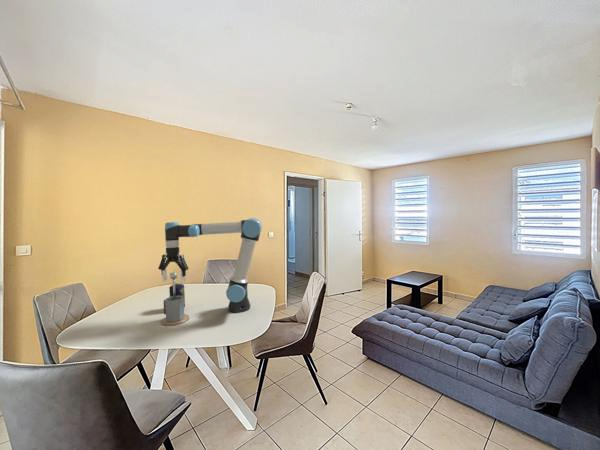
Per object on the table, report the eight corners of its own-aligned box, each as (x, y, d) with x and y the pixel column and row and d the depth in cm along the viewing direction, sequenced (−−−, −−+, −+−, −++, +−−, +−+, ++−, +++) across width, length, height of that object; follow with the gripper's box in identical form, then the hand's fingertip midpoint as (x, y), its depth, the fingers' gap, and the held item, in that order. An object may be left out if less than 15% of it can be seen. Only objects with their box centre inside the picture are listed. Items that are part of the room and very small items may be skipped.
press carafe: (194, 316, 163) (193, 295, 163) (177, 326, 148) (176, 303, 147) (173, 314, 167) (172, 293, 166) (154, 324, 151) (153, 302, 151)
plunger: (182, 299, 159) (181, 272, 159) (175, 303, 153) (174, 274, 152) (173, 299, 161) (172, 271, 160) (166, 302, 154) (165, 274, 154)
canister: (179, 312, 171) (178, 286, 170) (166, 311, 173) (165, 285, 172) (188, 306, 180) (187, 282, 180) (176, 306, 182) (175, 281, 181)
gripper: (193, 246, 156) (194, 280, 157) (160, 245, 162) (161, 278, 163) (185, 248, 149) (187, 283, 150) (151, 247, 155) (152, 281, 155)
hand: (173, 281), depth 156 cm, fingers open, 12 cm apart
